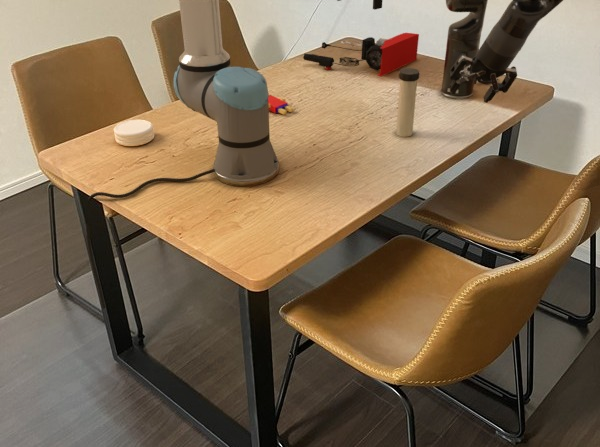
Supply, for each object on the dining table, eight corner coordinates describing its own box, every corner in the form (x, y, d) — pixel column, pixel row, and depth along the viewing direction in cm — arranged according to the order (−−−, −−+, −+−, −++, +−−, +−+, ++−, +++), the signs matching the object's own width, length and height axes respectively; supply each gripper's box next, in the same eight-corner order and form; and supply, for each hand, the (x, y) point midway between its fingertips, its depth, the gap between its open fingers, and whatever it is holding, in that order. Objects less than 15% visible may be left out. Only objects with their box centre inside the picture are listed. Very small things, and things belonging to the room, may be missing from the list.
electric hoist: (302, 34, 206) (381, 48, 191) (344, 20, 225) (419, 32, 210) (301, 64, 211) (379, 80, 196) (343, 48, 230) (416, 62, 215)
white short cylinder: (127, 150, 156) (124, 137, 154) (108, 138, 162) (106, 125, 160) (161, 139, 161) (159, 126, 159) (142, 127, 168) (140, 115, 166)
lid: (395, 78, 154) (395, 71, 153) (405, 73, 158) (406, 66, 157) (412, 82, 152) (412, 75, 151) (422, 77, 155) (423, 70, 154)
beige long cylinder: (393, 134, 162) (397, 73, 154) (401, 128, 165) (406, 69, 156) (406, 138, 160) (412, 76, 151) (415, 132, 163) (421, 72, 154)
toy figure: (297, 104, 175) (269, 91, 182) (279, 110, 172) (251, 97, 178) (297, 112, 177) (269, 99, 184) (279, 119, 173) (251, 105, 180)
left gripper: (410, -82, 149) (403, 9, 160) (338, -89, 165) (337, -6, 176) (388, -79, 145) (383, 15, 156) (317, -87, 161) (317, -2, 172)
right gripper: (530, 40, 138) (494, 91, 151) (471, 24, 136) (439, 78, 149) (535, 63, 134) (497, 114, 147) (474, 47, 131) (441, 100, 144)
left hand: (358, 4), depth 166 cm, fingers open, 13 cm apart
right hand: (468, 96), depth 148 cm, fingers open, 8 cm apart
